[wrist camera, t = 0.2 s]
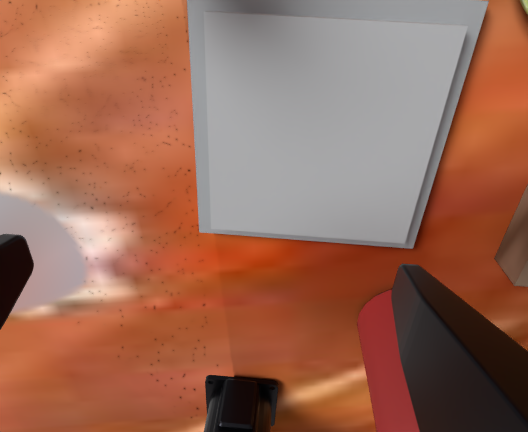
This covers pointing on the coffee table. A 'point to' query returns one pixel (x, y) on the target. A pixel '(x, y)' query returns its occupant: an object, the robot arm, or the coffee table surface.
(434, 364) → the robot arm
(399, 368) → the beer can
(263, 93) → the stand
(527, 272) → the metal block
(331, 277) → the coffee table surface
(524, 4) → the olive green ring
